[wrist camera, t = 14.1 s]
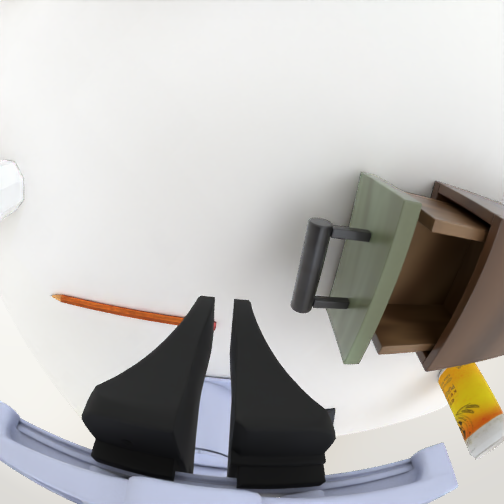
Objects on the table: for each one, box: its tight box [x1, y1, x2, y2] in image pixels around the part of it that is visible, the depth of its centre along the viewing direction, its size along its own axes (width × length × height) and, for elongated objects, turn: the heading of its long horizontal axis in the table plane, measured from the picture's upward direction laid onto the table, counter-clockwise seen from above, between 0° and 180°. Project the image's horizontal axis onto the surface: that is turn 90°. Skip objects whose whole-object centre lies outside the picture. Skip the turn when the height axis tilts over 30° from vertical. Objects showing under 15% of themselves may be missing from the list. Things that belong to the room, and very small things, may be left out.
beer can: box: [438, 363, 504, 459], centre depth 23 cm, size 6×6×15 cm
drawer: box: [291, 172, 491, 364], centre depth 18 cm, size 16×11×6 cm
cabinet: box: [416, 181, 504, 372], centre depth 18 cm, size 14×13×8 cm
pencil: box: [50, 295, 216, 330], centre depth 24 cm, size 1×18×1 cm, turn 82°
